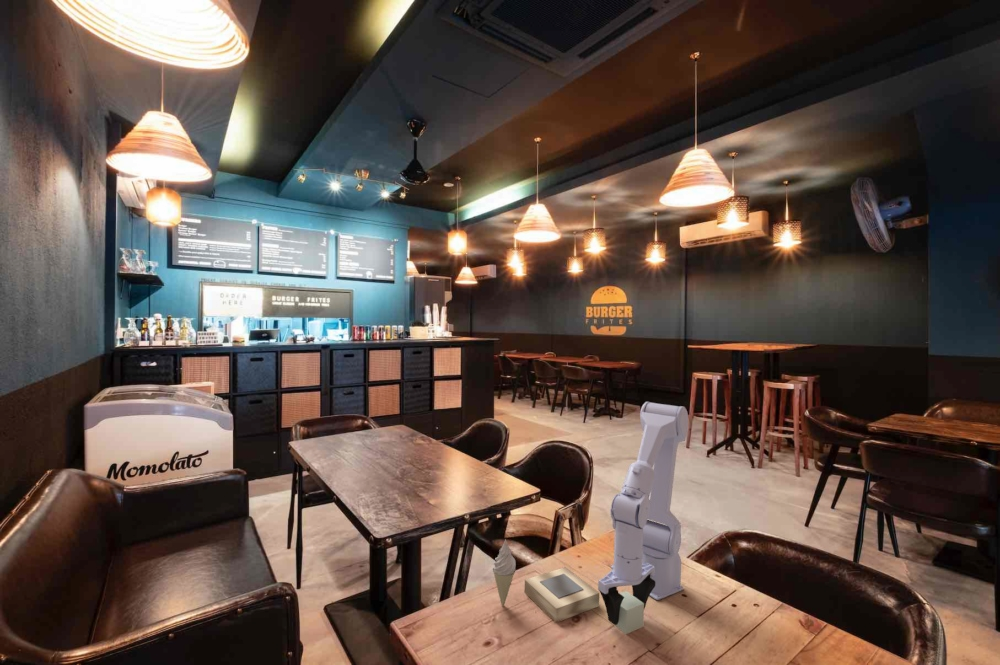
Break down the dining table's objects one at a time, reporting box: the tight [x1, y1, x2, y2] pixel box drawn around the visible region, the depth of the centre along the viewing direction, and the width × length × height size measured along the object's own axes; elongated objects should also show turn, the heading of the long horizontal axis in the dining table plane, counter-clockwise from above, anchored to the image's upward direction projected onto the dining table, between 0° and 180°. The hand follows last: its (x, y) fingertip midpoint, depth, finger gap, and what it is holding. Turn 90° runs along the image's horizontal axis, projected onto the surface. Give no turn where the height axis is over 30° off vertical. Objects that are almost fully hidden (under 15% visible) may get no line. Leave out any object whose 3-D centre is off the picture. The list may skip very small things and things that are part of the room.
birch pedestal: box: [523, 566, 600, 623], centre depth 103 cm, size 12×12×3 cm
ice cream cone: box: [492, 538, 517, 607], centre depth 99 cm, size 5×5×15 cm
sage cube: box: [610, 590, 645, 635], centre depth 95 cm, size 5×5×5 cm
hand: (625, 616), depth 95 cm, fingers open, 7 cm apart
